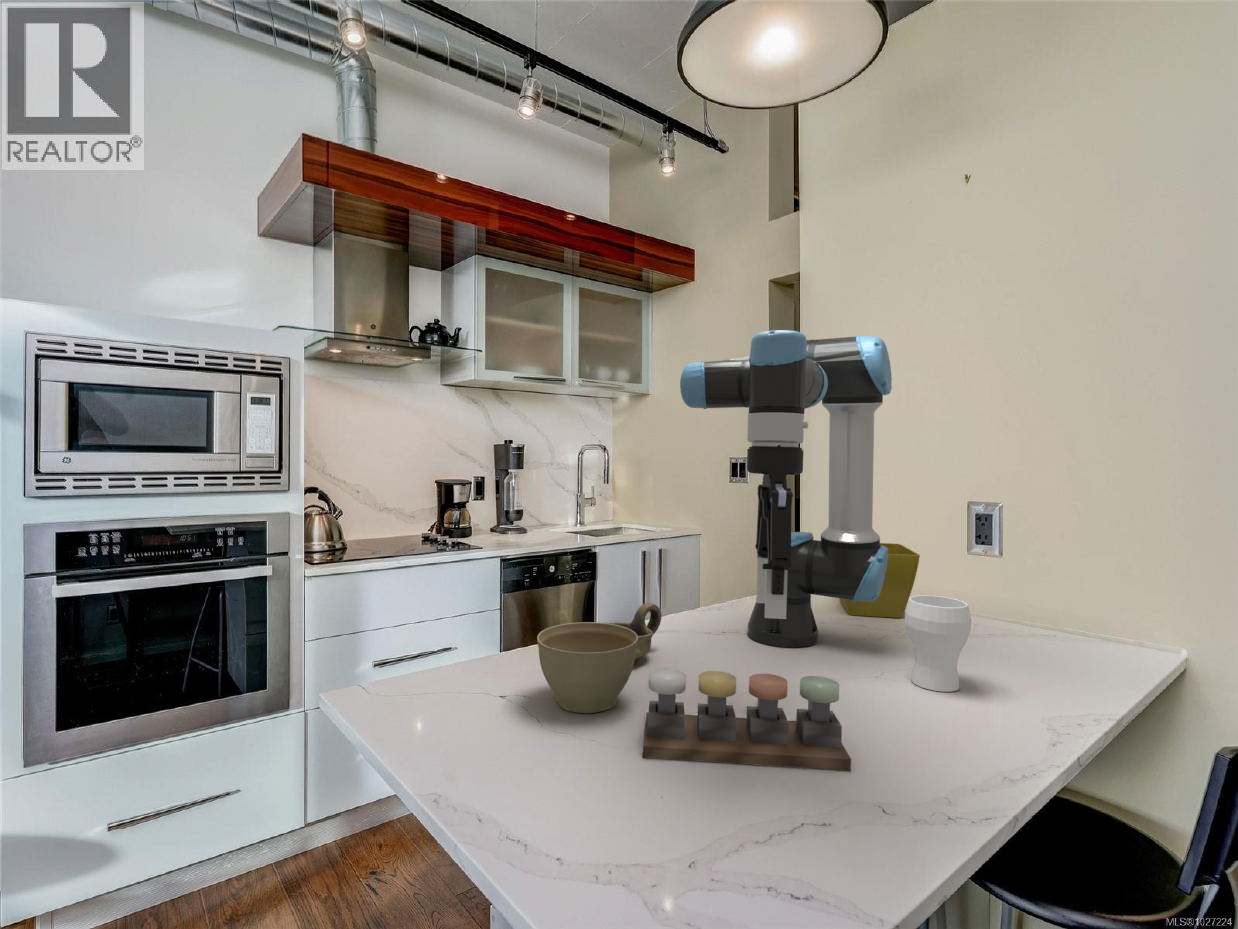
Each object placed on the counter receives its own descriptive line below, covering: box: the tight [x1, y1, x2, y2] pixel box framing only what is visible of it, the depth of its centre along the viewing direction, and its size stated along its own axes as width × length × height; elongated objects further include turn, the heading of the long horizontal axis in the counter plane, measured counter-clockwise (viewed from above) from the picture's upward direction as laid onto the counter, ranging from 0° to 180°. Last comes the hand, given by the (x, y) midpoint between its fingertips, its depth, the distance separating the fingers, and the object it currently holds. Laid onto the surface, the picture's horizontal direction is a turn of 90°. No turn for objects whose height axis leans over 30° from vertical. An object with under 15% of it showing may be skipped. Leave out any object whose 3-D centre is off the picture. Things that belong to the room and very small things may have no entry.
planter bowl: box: [536, 621, 638, 714], centre depth 103 cm, size 16×16×11 cm
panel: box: [642, 700, 852, 771], centre depth 89 cm, size 27×11×4 cm, turn 85°
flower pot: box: [838, 542, 920, 619], centre depth 166 cm, size 19×19×17 cm
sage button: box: [799, 675, 841, 722], centre depth 88 cm, size 5×5×5 cm
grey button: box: [648, 667, 687, 713], centre depth 90 cm, size 5×5×5 cm
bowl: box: [607, 602, 662, 660], centre depth 125 cm, size 14×18×10 cm
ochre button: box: [698, 670, 737, 716], centre depth 89 cm, size 5×5×5 cm
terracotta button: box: [748, 673, 788, 719], centre depth 89 cm, size 5×5×5 cm
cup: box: [904, 594, 972, 693], centre depth 114 cm, size 11×11×15 cm
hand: (770, 609), depth 88 cm, fingers open, 8 cm apart
